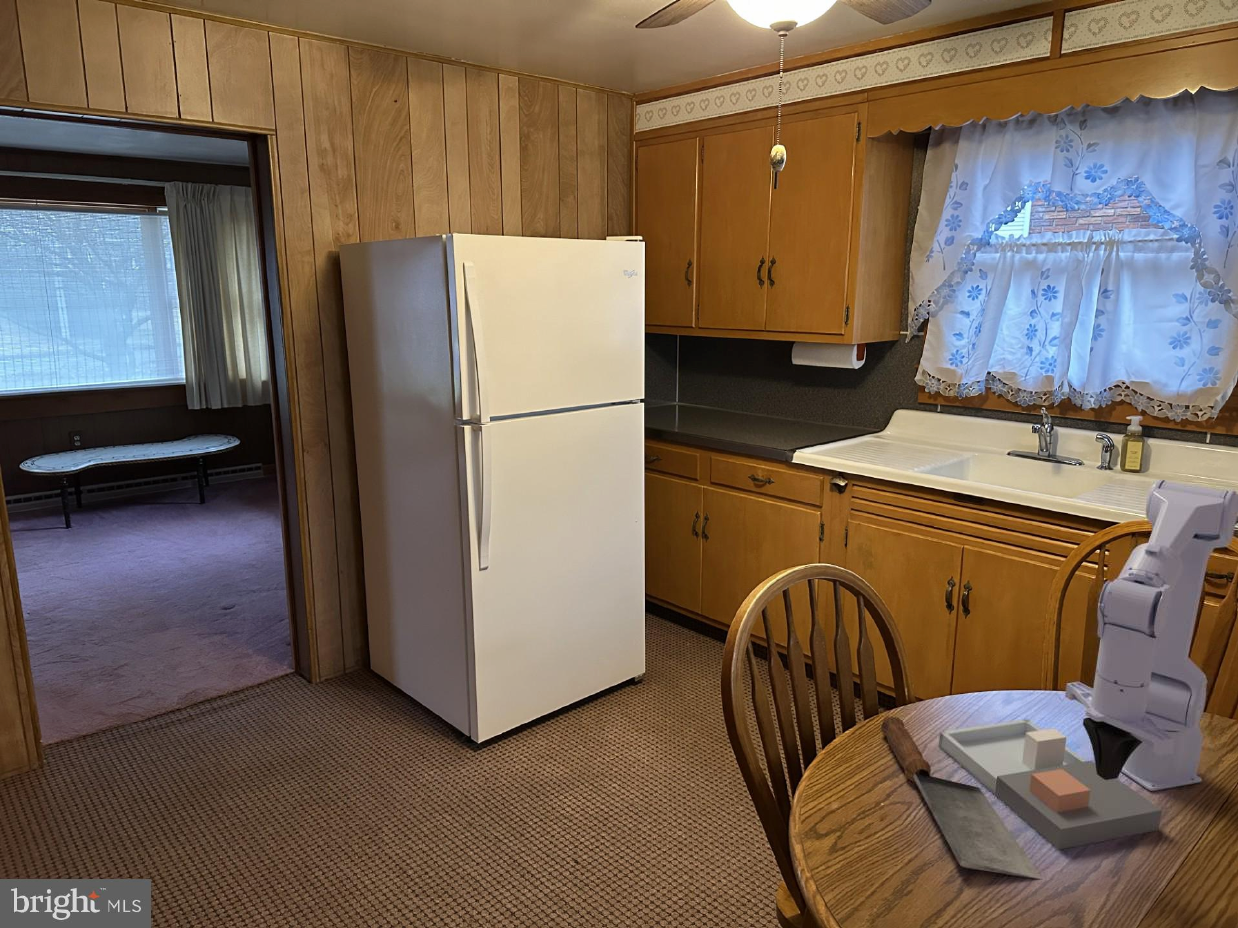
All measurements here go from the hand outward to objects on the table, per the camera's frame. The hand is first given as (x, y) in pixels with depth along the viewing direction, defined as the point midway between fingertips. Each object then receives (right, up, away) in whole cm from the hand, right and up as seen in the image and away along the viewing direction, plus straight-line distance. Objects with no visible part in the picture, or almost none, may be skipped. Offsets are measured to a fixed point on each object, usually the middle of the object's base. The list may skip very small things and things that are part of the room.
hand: (1107, 775), depth 106 cm
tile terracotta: (-2, -6, +8) cm, 10 cm away
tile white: (+2, -4, +18) cm, 19 cm away
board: (+1, -9, +10) cm, 13 cm away
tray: (-2, -6, +22) cm, 23 cm away
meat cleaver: (-14, -8, +13) cm, 21 cm away
